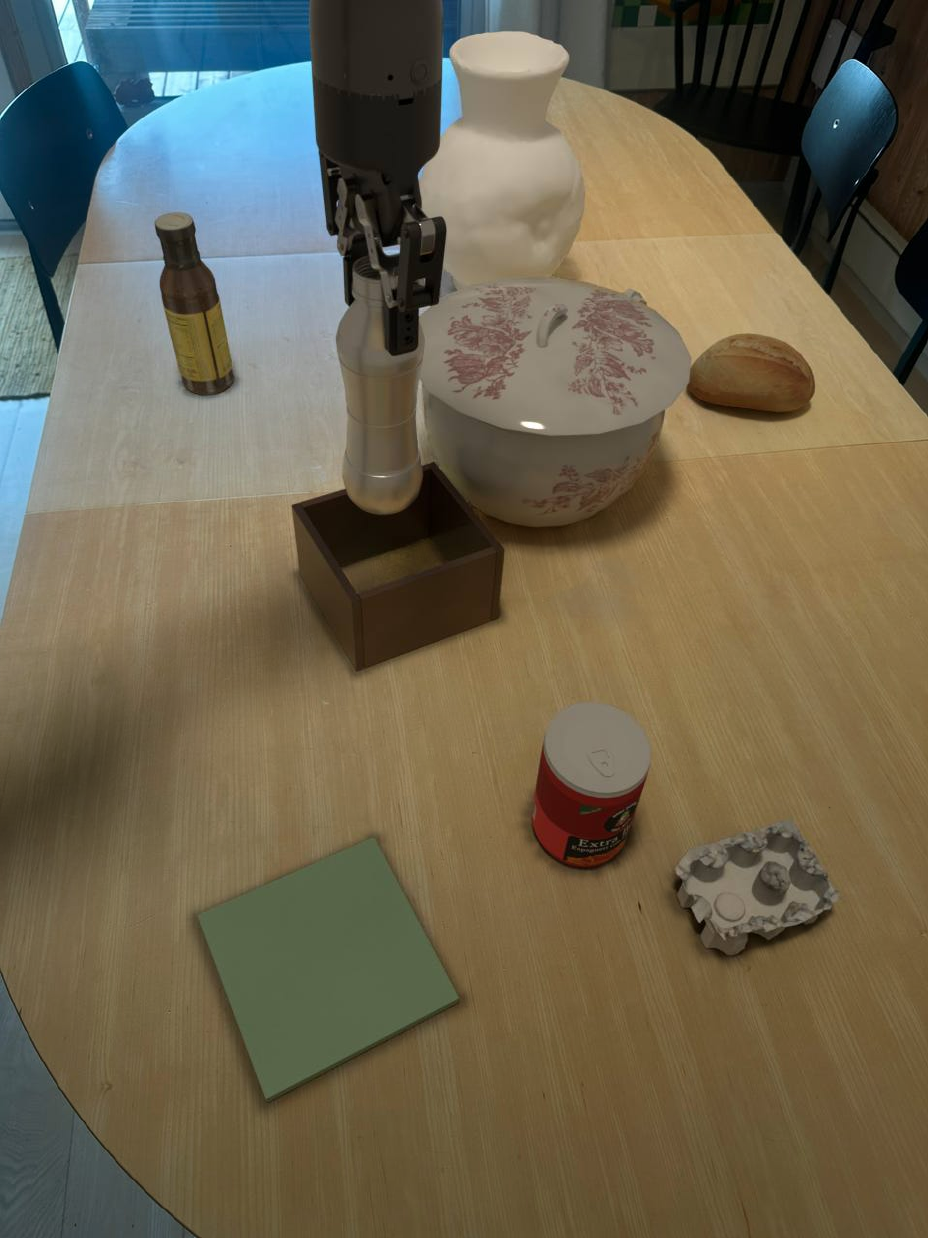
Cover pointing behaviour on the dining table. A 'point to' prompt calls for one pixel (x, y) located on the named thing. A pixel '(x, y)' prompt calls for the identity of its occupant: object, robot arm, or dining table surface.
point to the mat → (324, 966)
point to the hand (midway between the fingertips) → (380, 327)
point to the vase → (504, 163)
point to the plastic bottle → (378, 402)
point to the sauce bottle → (192, 308)
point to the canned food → (589, 782)
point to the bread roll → (752, 374)
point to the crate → (412, 603)
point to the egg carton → (754, 885)
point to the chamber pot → (546, 394)
